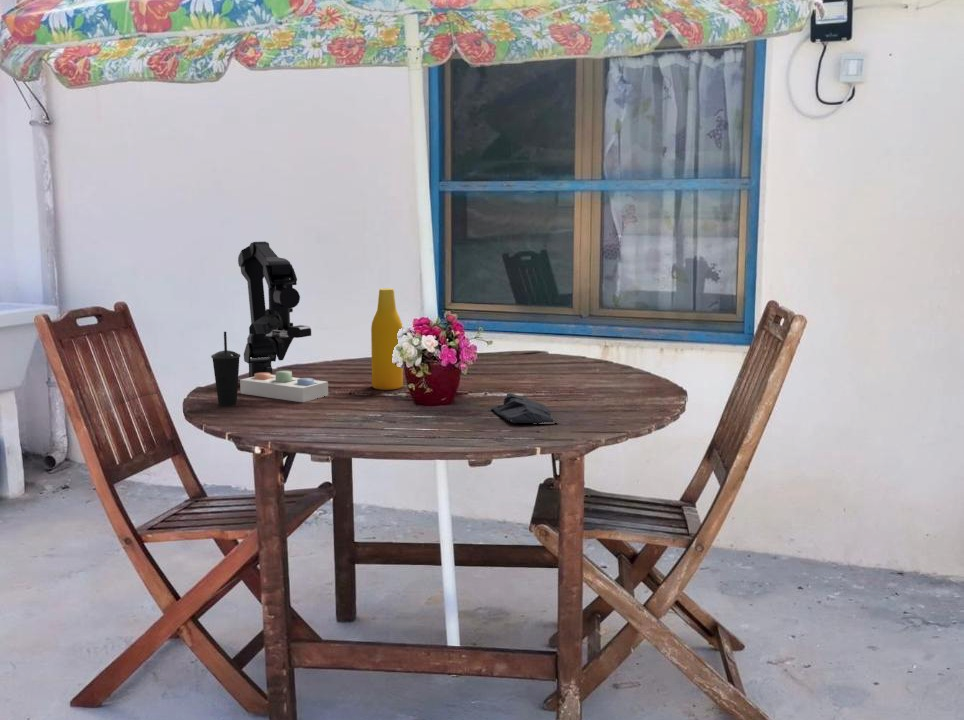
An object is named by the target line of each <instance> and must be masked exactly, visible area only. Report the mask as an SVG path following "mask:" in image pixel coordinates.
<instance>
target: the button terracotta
mask: <svg viewBox="0 0 964 720" xmlns="http://www.w3.org/2000/svg"><path fill="white" fill-rule="evenodd" d="M254 379H258V380H267V379H271V373H265V372H262V373H255V374H254Z"/></svg>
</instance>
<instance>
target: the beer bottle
mask: <svg viewBox="0 0 964 720" xmlns="http://www.w3.org/2000/svg"><path fill="white" fill-rule="evenodd" d="M395 297H396V295H395V290H394V288H379V291H378V301H377V309H376V312H375V314H374V316H373V320H372V321H371V326H370V327H371V328H370V329H371V330H370V331H371V335H370V336H371V339H370V340H371V347H370V348H371V387H372V388H373V389H376V390H381V391H382V390H384V391H385V390H386V391H388V390H390V391H391V390H398V389H401V388H403V384H404V371H403V369H404V367H403V368H400V367H397V366H396V365H395V364H393V363H392V354H393V350H394V347H395V346H396V345H397V344H398V339H397V333H398V331H399V329H401V328H402V329H403V323H402V320H401V318H400V315H399V313H398V310H397V306H396V305H397V304H396V298H395Z"/></svg>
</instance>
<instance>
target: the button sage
mask: <svg viewBox="0 0 964 720" xmlns="http://www.w3.org/2000/svg"><path fill="white" fill-rule="evenodd" d="M274 375H276V382H280V383H287V382H292V377H293V372H292V370H276V371H275V374H274Z"/></svg>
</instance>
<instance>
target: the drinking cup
mask: <svg viewBox="0 0 964 720" xmlns="http://www.w3.org/2000/svg"><path fill="white" fill-rule="evenodd" d="M227 340H228V339H227V331H223V348H224V349H223V350H220V351H218V352H215V353H213V354H211V356H210V357H211V359H212V365H213V371H214V372H213V373H214V380H215V388H216V395H217V402H218V403H217V404H218V406H220V407H234V406H237V404H238V390H239V388H238V387H239V372H240V371H239V370H240V358H241V354H240V353H238V352H236V351H233V350H228V345H227V344H228V341H227Z"/></svg>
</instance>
